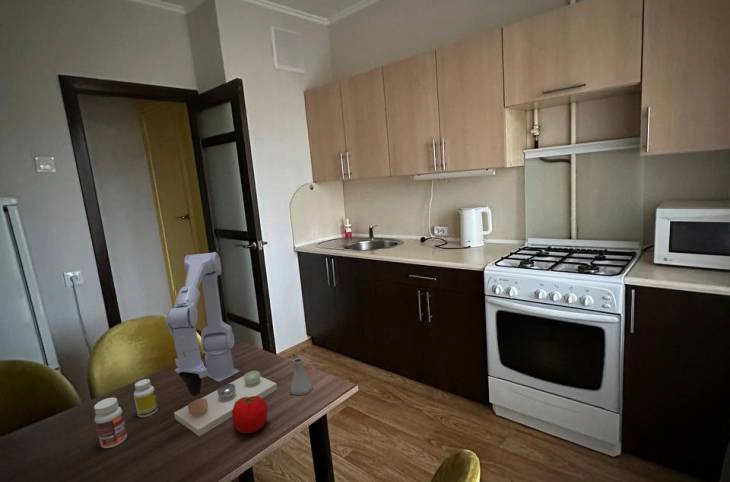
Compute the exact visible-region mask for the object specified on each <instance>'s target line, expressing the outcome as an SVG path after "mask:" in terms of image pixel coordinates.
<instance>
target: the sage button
mask: <svg viewBox="0 0 730 482" xmlns="http://www.w3.org/2000/svg"><path fill="white" fill-rule="evenodd" d="M243 376H244V382H245V383H246V384H252V383H255V382H257V381H259V380H260V376H261V372H260V371H258V370H251V371H248V372H246V373H245V374H243Z"/></svg>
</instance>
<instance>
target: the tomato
mask: <svg viewBox="0 0 730 482" xmlns="http://www.w3.org/2000/svg"><path fill="white" fill-rule="evenodd" d="M268 409H269V407H268V404H267V402H266V401H265V400H264V398H260V397H259V396H251V397H243V398H242V397H241V399H239V400H237V401H236V402H235V404H234V407H233V410H232V417H231V421H232V423H233V424H232V425H233V426H234V427H235V429H236V430H237V431H238V432H239V433H241V434H251V433H255V432H257V431H258V430H260V429H261V428H263V426H264V425H265V423H266V421H267V414H268Z"/></svg>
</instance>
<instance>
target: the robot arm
mask: <svg viewBox="0 0 730 482" xmlns="http://www.w3.org/2000/svg"><path fill="white" fill-rule="evenodd" d="M221 263H222V262H221V257H220V256H219V254H218V253H217V251H213V252H207V253H197V254H196V253H195V254H186V256H185V257H184V260H183V265H184V271H185V273H186V278H185V283H184V286H182V287H181V288H179V291H178V293H177V297H176V300H175V302H174V305H173V307H172V308H170V310H168V311H167V313H166V327H167V328H168V330H169V332H170V336H171V337H172V338H173V341H174V347H175V354H176V357H177V358H175V359H174V362H175V366H177V367H176V368H175V369H174V372H175V373H176V374H178V376H179V378H181V380H183V382H184V384H185V385H186V387H187V389H188V392H189V394H190V395H191V396H192V397H196V396H198V395H200V394H201V390H202V381H203V379H204V378H206V377H208V378H210V379H212V380H214V381H216V382H217V383H221V382H223V381H224V380H226V379H229V378H231V377H232V376H235V375H236V374H238V373H240V370H239V369H236V368H234V363H233V356H232V349H233V348H234V345H235V335H234V332H233V328H232V325H229V324H227V323H226V322H224V321H223V315H222V308H221V301H220V300H221V299H220V294H219V293H220V292H219V286H218V285H219V284H218V276H220V275H222V264H221ZM201 283H202V292H203V299H204V307H205V308H204V309H205V314H206V315H205V316H206V322H207V325H206V326H205V327H204V328H203V329H202V331H201V333H200V337H201V340H200V343H199V339H198V334H197V324H198V311H199V310H198V308H197V307H198V303H199V300H200V296H201V291H200V290H199V287H200V285H201ZM199 344H200V345H199ZM200 346H201V350H202V351H203V352H204V353H205V355H204V361H205V365H204V361H203V360H202V356H201V352H200Z"/></svg>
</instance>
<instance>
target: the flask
mask: <svg viewBox="0 0 730 482" xmlns="http://www.w3.org/2000/svg"><path fill="white" fill-rule="evenodd" d="M303 363H304V358H303V357H296V358H294V359H293V360H292V364H293V365H294V366H293V367H294V369H293V376H292V381H291V384H290V385H291V386H290V395H294V396H302V395H307V394H309V393H310V392H311V391H312V390H313V383H312V381H311V379H310V378H309V376H308V374H307V372H306V370H305V368H304V364H303Z"/></svg>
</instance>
